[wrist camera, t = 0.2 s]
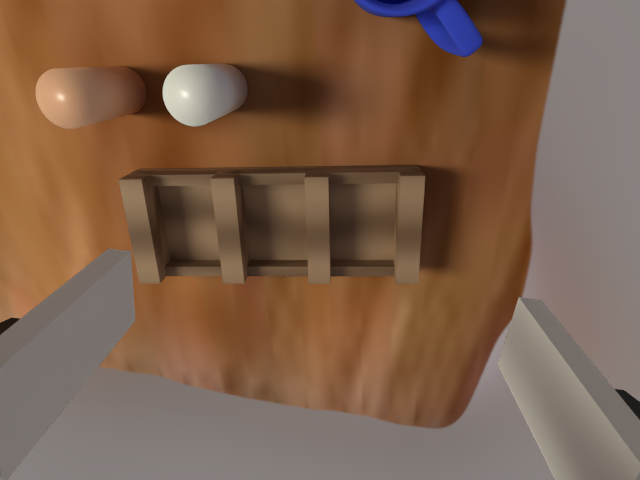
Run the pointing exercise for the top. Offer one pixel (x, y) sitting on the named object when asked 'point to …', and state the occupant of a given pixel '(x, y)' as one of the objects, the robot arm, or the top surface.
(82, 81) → the plug terracotta
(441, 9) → the mug
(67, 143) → the top surface
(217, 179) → the comb rack
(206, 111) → the plug grey
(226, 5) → the top surface
